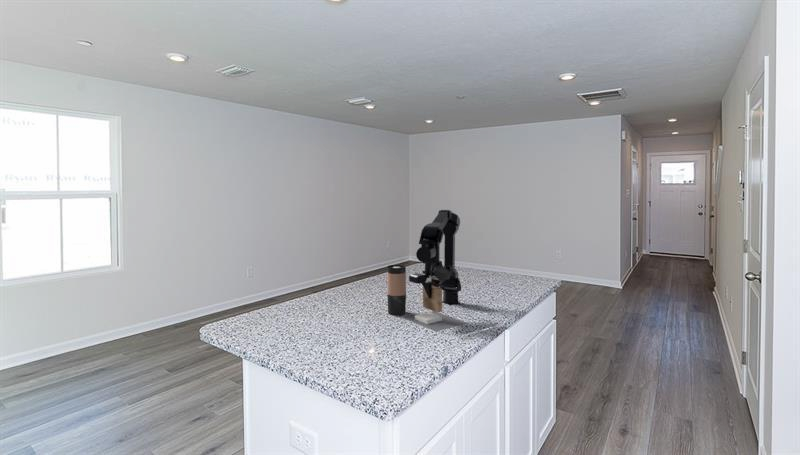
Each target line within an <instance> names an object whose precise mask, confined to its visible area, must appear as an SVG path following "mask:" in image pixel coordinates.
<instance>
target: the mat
mask: <svg viewBox="0 0 800 455" xmlns="http://www.w3.org/2000/svg"><path fill="white" fill-rule="evenodd" d="M428 312H430V313H433V314H436V315H439V316H442V321H438V322H434V323H429V324H426V323H423V322H420V321H418V320H415V315H416V314H415V315H411V316H406V317H403V319H404V320H405V321H406V320H407V321H409V322H412V323H414V324H416V325H418V326H422V327H423V328H426V329H429V330H431V331H433V332H439V331H443V330H446V329H447V330H448V329H452V328H455V327H459V326H463V325H467V324H468V322H466V321H463V320H460V319H458V318H455V317H451V316H448V315H447V314H443V313H442V312H435V311H433V310H431V311H427V312H426V313H428ZM424 313H425V312H424ZM424 313H422V314H424ZM419 314H420V313H419ZM419 314H417V315H419Z"/></svg>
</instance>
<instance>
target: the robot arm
mask: <svg viewBox="0 0 800 455" xmlns="http://www.w3.org/2000/svg"><path fill="white" fill-rule="evenodd" d="M460 226H461V218H460V217H459V215H458V214H457V213H454V212H452V210H450V209H440V210H438V214H437V215H436V217H435V218H434V219H433V220H432V222H431V223H427V224H426V225H424V226H423V228H422V229H421V232H420V237H419V242H418V244H419V245H420V247H419V248H418V249H417V250H416V253H415V256H416V258H417V260H418V261H419V262H421V263H422V264H424V270H422V273H418V272H417V273H416V272H415V273H411V274H409V276H408V281H409V282H410V283H413V284H417V285H418V284H421V285H422V288H423V287H424V289H425V291H426V293H427V295H428V298H431V295H432V286H435V287H439V288H442V304H445V305H449V306H452V305H459V304H461V302H460V301H459V292H461V291H462V283H461V279H460V278H459V273H458V270H457V269H456V264H455V262H456V261H455V260H456V234H457V233H458V231H459V229H460ZM443 237H444V249H443V250H444V255H443V256H444V261H443V262H444V263H443V262H442V260H441V258H440V255H441V254H440V253H441V252H440V251H441V250H440V246H441V243H442V241H443ZM443 264H444V265H443Z"/></svg>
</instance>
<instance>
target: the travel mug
mask: <svg viewBox="0 0 800 455" xmlns="http://www.w3.org/2000/svg"><path fill="white" fill-rule="evenodd" d="M406 269H407V268H406V265H403V264H391V265H390V264H389V265H387V268H386V270H387V272H386V274H387V277H386V278H387V279H386V280H387V281H386V283H387V286H386V287H387V290H386V291H387V292H386V294H387V312H388V315H390V316H395V317H399V316H404V315H406V309H407V307H406V305H407V304H406V303H407V282H406V281H407V277H406V276H407V274H406V273H407V271H406Z"/></svg>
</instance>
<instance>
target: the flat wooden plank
mask: <svg viewBox="0 0 800 455" xmlns="http://www.w3.org/2000/svg"><path fill="white" fill-rule="evenodd" d="M442 301H443V290H442V288H440V287H435V286H432V295H431V298H428V295H427V293H426V291H425V289H424V287H423V286H422V308H424V309H427V310H430V311H435V312H438V313H442V311H443V303H442Z"/></svg>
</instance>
